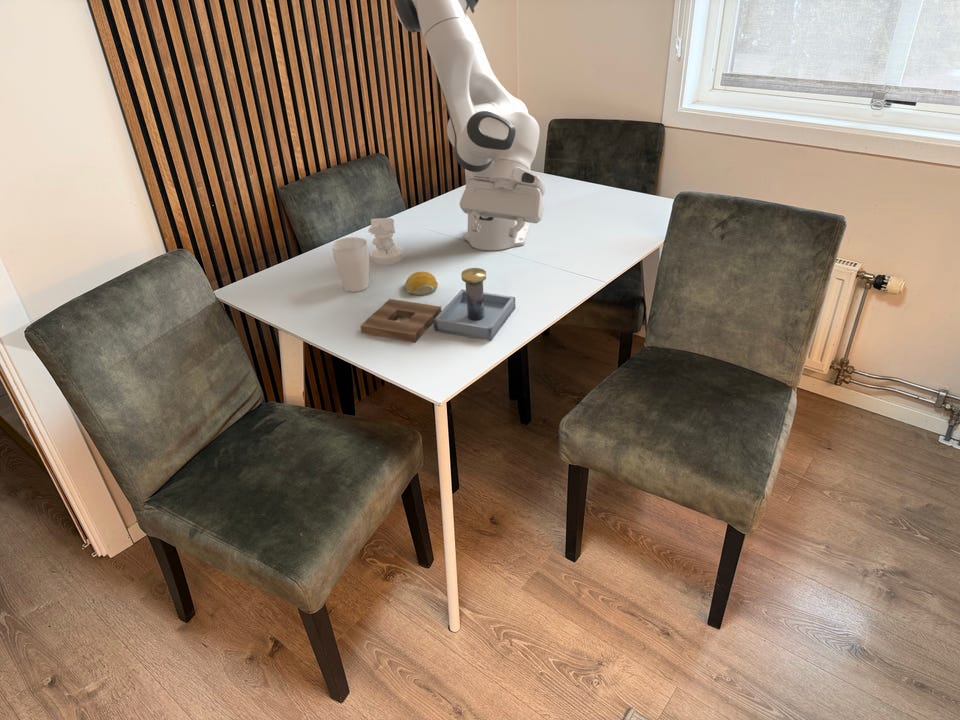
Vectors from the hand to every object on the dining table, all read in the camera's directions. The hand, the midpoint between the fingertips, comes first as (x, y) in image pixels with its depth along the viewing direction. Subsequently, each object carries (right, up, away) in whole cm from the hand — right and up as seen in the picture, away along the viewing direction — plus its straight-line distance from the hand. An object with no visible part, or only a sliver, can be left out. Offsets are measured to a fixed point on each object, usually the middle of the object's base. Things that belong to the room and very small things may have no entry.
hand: (493, 234), depth 157 cm
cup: (-36, -10, +19) cm, 42 cm away
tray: (-4, -20, +1) cm, 20 cm away
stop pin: (-4, -19, 0) cm, 20 cm away
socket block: (-21, -21, +1) cm, 30 cm away
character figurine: (-29, 0, +34) cm, 45 cm away
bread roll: (-18, -11, +17) cm, 27 cm away
